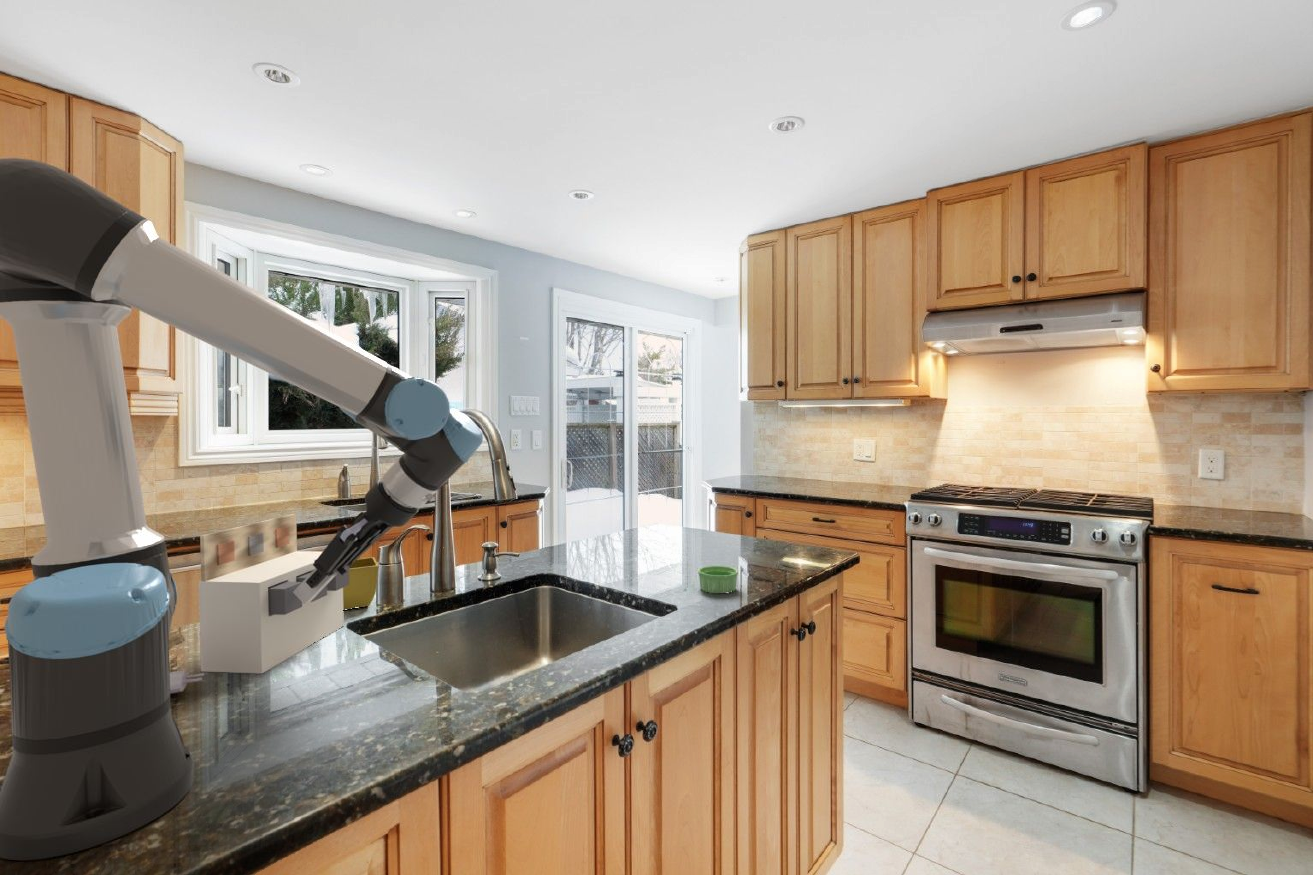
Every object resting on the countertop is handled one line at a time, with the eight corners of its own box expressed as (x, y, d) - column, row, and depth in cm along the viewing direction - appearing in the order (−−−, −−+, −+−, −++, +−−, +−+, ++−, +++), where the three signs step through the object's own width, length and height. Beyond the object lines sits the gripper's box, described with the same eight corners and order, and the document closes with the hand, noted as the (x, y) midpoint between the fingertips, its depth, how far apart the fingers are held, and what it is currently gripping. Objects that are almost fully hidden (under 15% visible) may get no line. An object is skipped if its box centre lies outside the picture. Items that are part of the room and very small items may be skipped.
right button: (336, 590, 108) (335, 568, 108) (318, 590, 108) (318, 567, 108) (349, 584, 112) (348, 562, 112) (332, 584, 112) (332, 562, 112)
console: (262, 673, 94) (259, 582, 93) (200, 671, 94) (198, 581, 94) (343, 626, 114) (342, 551, 114) (293, 624, 115) (291, 550, 115)
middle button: (312, 601, 101) (311, 578, 101) (293, 601, 102) (293, 577, 102) (327, 594, 105) (326, 571, 105) (309, 594, 106) (309, 571, 106)
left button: (285, 614, 95) (284, 589, 95) (265, 614, 95) (265, 588, 95) (302, 606, 99) (301, 582, 99) (283, 606, 99) (283, 581, 99)
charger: (197, 707, 83) (48, 733, 76) (208, 681, 91) (75, 703, 84) (196, 672, 83) (47, 696, 76) (208, 649, 91) (74, 669, 84)
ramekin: (725, 582, 145) (725, 563, 145) (745, 592, 136) (745, 572, 136) (691, 586, 141) (691, 567, 141) (710, 597, 133) (710, 577, 133)
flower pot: (330, 616, 120) (329, 570, 120) (328, 604, 128) (327, 561, 127) (379, 609, 125) (378, 565, 124) (374, 598, 132) (374, 556, 132)
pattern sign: (206, 581, 94) (205, 536, 93) (201, 581, 94) (200, 535, 94) (298, 551, 115) (297, 513, 114) (294, 551, 115) (293, 513, 114)
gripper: (396, 517, 88) (289, 628, 90) (436, 504, 101) (342, 601, 103) (360, 480, 88) (254, 591, 91) (405, 472, 101) (312, 569, 104)
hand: (301, 596), depth 97 cm, fingers closed
